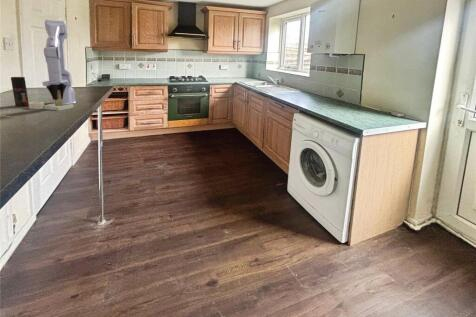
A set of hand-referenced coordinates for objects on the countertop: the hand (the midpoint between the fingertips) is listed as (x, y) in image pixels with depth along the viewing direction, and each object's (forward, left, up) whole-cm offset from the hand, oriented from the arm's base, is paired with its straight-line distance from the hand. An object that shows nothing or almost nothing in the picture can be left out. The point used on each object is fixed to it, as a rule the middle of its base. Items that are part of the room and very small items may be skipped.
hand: (58, 99), depth 167 cm
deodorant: (+4, -20, -5) cm, 21 cm away
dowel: (0, 0, -3) cm, 3 cm away
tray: (0, 0, -5) cm, 5 cm away
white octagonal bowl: (+5, -9, -5) cm, 11 cm away
